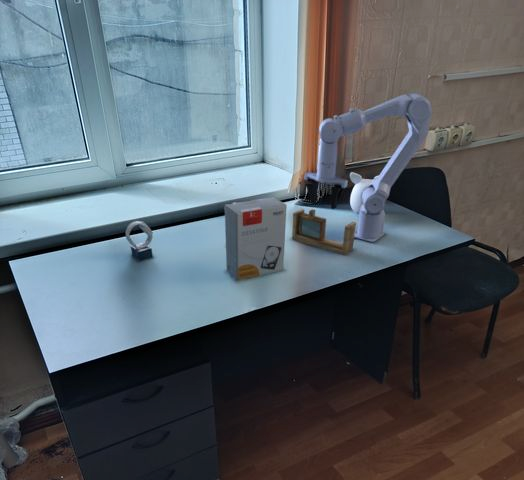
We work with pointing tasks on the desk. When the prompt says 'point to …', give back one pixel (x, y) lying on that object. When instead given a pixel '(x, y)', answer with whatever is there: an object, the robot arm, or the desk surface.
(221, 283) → the desk surface
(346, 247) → the window frame
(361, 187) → the piggy bank
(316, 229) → the sash
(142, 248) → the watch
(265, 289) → the desk surface
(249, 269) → the hard drive box
